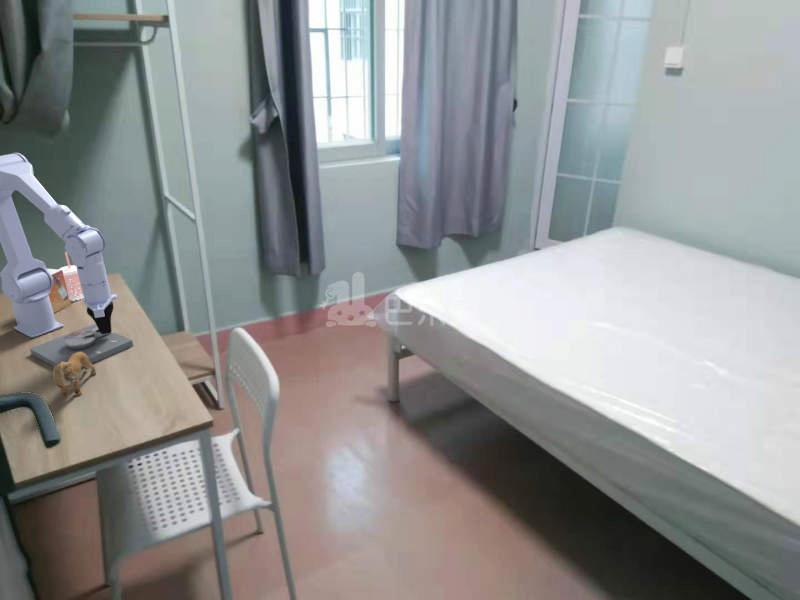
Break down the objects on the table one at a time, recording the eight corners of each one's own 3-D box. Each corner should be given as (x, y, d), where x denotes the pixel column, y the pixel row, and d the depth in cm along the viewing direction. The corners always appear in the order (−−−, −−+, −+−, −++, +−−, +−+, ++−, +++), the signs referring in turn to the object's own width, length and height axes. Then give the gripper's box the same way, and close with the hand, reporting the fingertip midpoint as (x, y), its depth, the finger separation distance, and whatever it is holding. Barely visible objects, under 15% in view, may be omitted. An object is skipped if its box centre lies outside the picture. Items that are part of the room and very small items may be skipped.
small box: (50, 316, 154) (40, 279, 149) (32, 314, 155) (22, 278, 150) (71, 304, 161) (62, 269, 156) (54, 302, 162) (45, 267, 157)
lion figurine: (83, 404, 116) (73, 366, 112) (54, 408, 114) (43, 369, 111) (99, 368, 129) (90, 333, 125) (73, 371, 127) (64, 336, 124)
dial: (76, 352, 132) (74, 343, 131) (60, 345, 134) (58, 337, 134) (119, 333, 140) (117, 325, 139) (103, 327, 143) (101, 319, 142)
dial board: (31, 354, 134) (29, 348, 134) (96, 329, 146) (95, 323, 146) (67, 374, 126) (65, 368, 125) (133, 345, 138) (132, 339, 138)
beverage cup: (76, 292, 168) (65, 247, 162) (93, 294, 167) (83, 249, 161) (60, 300, 163) (47, 254, 157) (77, 303, 161) (66, 256, 156)
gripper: (113, 288, 129) (125, 341, 134) (112, 268, 141) (123, 318, 146) (78, 294, 126) (92, 348, 131) (80, 273, 138) (92, 323, 143)
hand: (106, 332), depth 138 cm, fingers closed
